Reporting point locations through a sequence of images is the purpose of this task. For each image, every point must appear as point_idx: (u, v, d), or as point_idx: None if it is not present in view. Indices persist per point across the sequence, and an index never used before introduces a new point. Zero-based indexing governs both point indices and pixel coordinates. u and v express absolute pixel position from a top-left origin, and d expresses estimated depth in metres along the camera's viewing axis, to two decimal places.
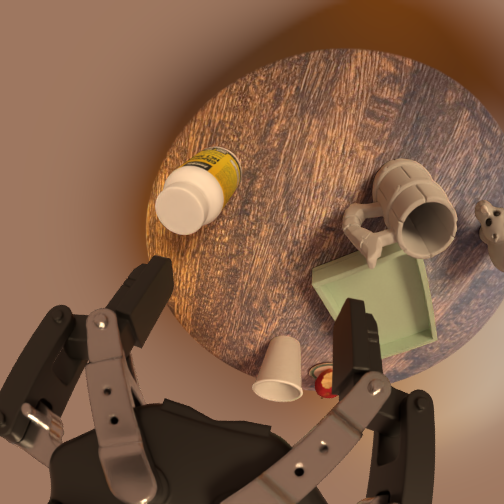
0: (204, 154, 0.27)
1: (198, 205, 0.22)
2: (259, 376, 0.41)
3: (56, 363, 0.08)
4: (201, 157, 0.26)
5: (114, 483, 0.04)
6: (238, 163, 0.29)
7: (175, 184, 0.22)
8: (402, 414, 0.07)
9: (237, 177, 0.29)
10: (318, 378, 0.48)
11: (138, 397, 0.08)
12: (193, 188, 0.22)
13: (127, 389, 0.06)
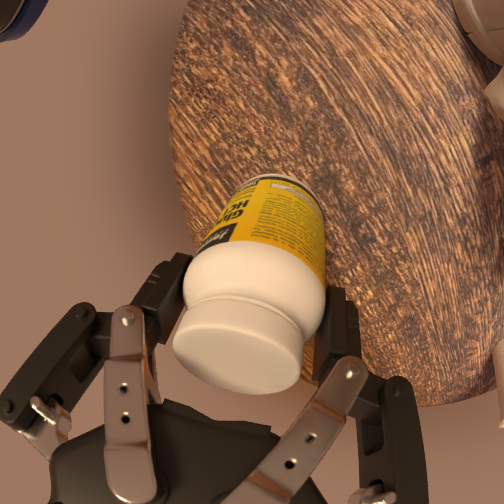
0: (221, 213, 0.14)
1: (252, 337, 0.08)
2: (502, 410, 0.15)
3: (74, 358, 0.09)
4: (216, 223, 0.13)
5: (114, 483, 0.04)
6: (290, 180, 0.15)
7: (181, 321, 0.09)
8: (380, 400, 0.07)
9: (307, 201, 0.14)
10: None
11: (154, 397, 0.08)
12: (216, 306, 0.08)
13: (144, 390, 0.06)
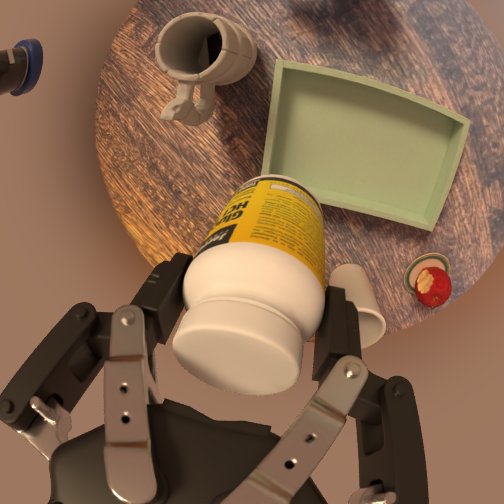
0: (221, 214, 0.14)
1: (251, 338, 0.08)
2: None
3: (74, 358, 0.09)
4: (216, 224, 0.13)
5: (114, 483, 0.04)
6: (290, 180, 0.15)
7: (181, 322, 0.09)
8: (380, 400, 0.07)
9: (306, 202, 0.14)
10: (414, 288, 0.33)
11: (154, 397, 0.08)
12: (215, 306, 0.08)
13: (144, 390, 0.06)
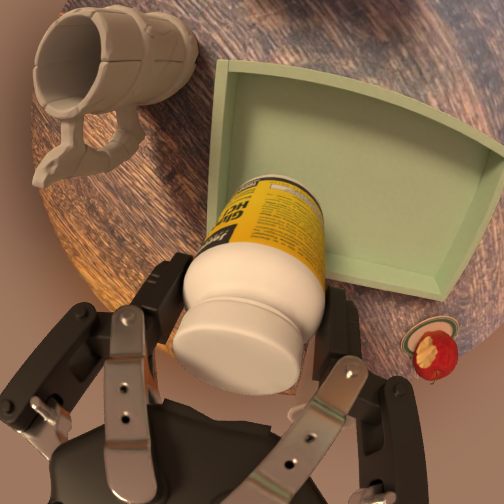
0: (221, 214, 0.14)
1: (252, 338, 0.08)
2: None
3: (74, 358, 0.09)
4: (216, 224, 0.13)
5: (114, 483, 0.04)
6: (290, 180, 0.15)
7: (181, 323, 0.09)
8: (380, 400, 0.07)
9: (306, 202, 0.14)
10: (413, 357, 0.26)
11: (154, 397, 0.08)
12: (215, 307, 0.08)
13: (144, 390, 0.06)
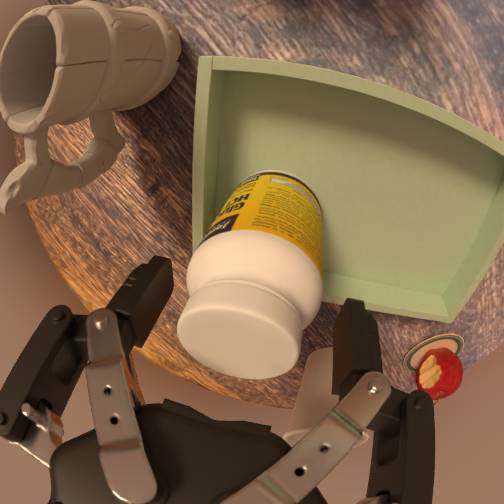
0: None
1: (253, 317, 0.08)
2: None
3: (56, 363, 0.08)
4: (218, 215, 0.14)
5: (114, 483, 0.04)
6: (289, 175, 0.16)
7: (186, 305, 0.10)
8: (401, 414, 0.07)
9: (305, 195, 0.14)
10: None
11: (138, 397, 0.08)
12: (218, 289, 0.09)
13: (127, 389, 0.06)
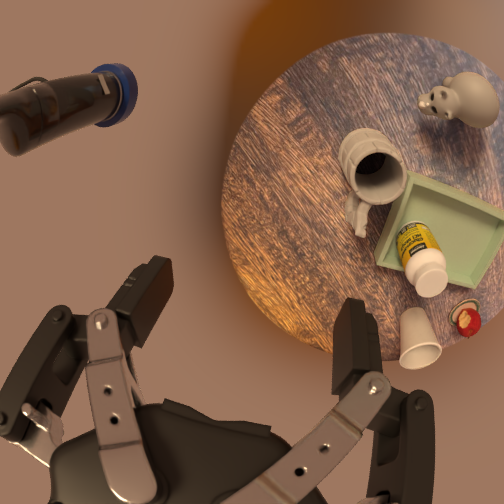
0: (408, 237, 0.33)
1: (442, 271, 0.27)
2: (400, 354, 0.41)
3: (56, 363, 0.08)
4: (411, 241, 0.32)
5: (114, 483, 0.04)
6: (424, 224, 0.34)
7: (422, 271, 0.28)
8: (401, 414, 0.07)
9: None
10: (456, 323, 0.41)
11: (138, 397, 0.08)
12: (432, 265, 0.27)
13: (127, 389, 0.06)
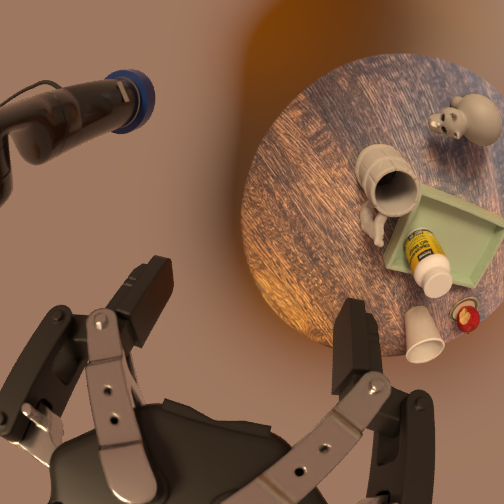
0: (416, 243, 0.36)
1: (448, 275, 0.29)
2: None
3: (56, 363, 0.08)
4: (419, 247, 0.35)
5: (114, 483, 0.04)
6: (429, 230, 0.37)
7: (430, 274, 0.31)
8: (401, 414, 0.07)
9: (436, 239, 0.36)
10: (457, 320, 0.45)
11: (138, 397, 0.08)
12: (439, 269, 0.30)
13: (127, 389, 0.06)
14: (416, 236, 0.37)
